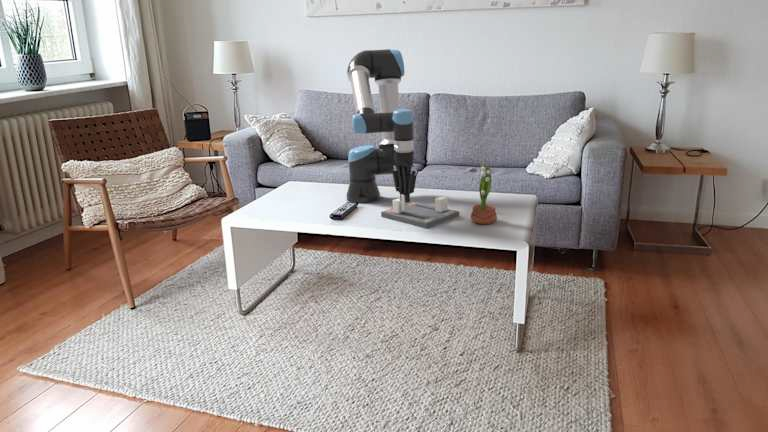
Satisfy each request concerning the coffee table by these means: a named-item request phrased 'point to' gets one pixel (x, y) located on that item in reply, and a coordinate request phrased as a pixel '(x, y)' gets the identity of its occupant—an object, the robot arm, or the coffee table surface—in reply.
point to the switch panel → (421, 215)
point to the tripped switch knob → (397, 206)
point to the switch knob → (441, 204)
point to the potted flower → (484, 199)
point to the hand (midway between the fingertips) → (405, 209)
